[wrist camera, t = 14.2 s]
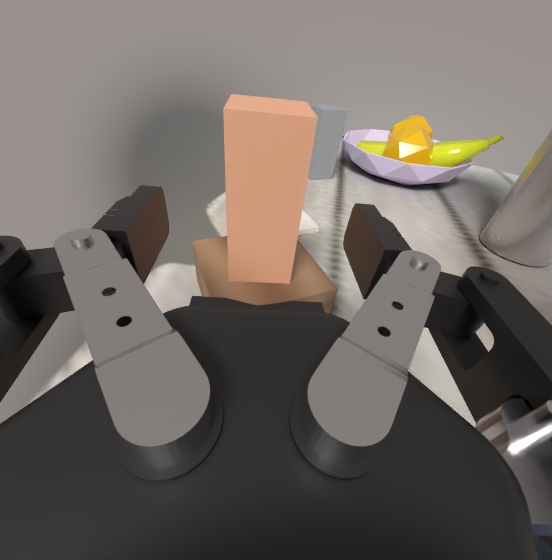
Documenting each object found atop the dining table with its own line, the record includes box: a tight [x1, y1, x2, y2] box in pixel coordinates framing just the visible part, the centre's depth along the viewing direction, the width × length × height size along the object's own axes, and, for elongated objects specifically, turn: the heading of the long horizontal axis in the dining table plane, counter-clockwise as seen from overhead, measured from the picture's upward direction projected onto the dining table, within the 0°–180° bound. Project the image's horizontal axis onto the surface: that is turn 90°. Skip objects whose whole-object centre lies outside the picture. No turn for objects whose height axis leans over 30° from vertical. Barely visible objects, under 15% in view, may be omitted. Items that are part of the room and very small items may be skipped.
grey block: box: [308, 104, 348, 180], centre depth 53 cm, size 5×5×12 cm
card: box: [298, 210, 319, 235], centre depth 39 cm, size 10×7×1 cm
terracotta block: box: [224, 94, 318, 284], centre depth 20 cm, size 5×5×12 cm
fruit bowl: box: [343, 115, 503, 185], centre depth 58 cm, size 28×27×11 cm
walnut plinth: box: [192, 236, 338, 313], centre depth 26 cm, size 10×10×5 cm
